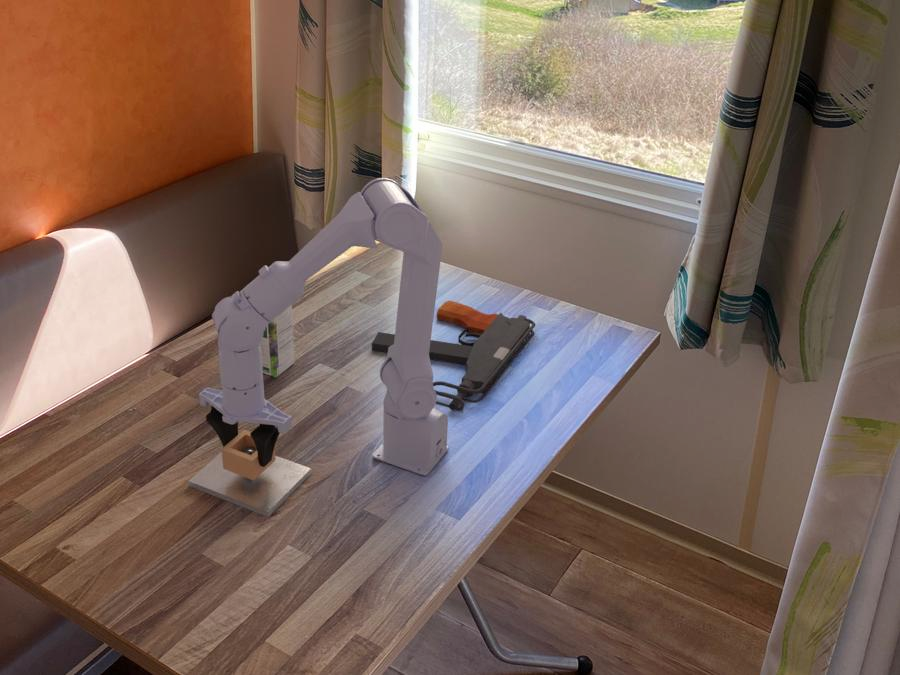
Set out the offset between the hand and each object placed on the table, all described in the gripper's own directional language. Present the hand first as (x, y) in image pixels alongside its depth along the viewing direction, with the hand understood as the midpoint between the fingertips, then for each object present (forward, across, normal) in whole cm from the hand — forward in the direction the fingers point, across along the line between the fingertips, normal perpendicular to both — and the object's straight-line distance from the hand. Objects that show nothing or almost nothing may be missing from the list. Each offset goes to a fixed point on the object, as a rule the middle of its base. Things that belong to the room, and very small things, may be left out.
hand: (248, 456), depth 142 cm
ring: (+2, 0, 0) cm, 2 cm away
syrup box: (+5, -15, +27) cm, 31 cm away
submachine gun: (+5, +9, +46) cm, 47 cm away
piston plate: (+4, 0, 0) cm, 4 cm away
